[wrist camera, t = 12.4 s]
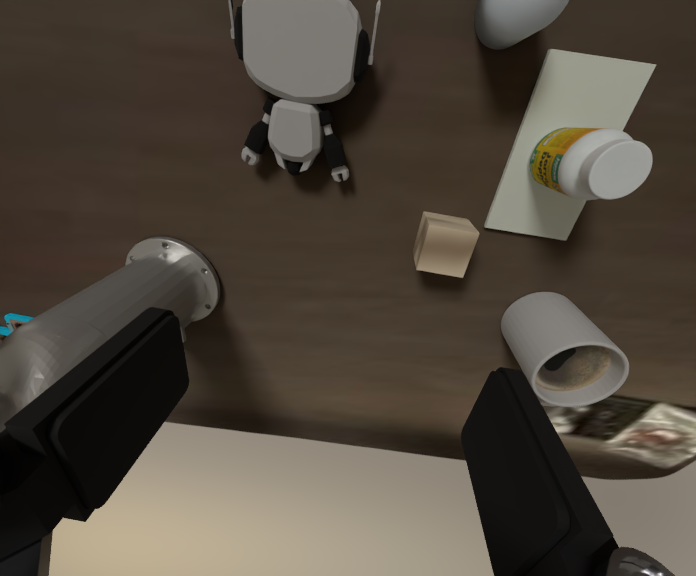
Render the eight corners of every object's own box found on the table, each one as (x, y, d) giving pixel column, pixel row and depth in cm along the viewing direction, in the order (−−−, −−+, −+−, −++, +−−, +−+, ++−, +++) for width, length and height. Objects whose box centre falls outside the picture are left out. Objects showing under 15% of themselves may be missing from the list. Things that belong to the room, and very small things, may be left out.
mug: (546, 277, 37) (596, 326, 28) (592, 322, 39) (652, 380, 30) (473, 331, 42) (497, 387, 33) (519, 368, 44) (552, 430, 35)
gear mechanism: (105, 369, 54) (92, 327, 49) (78, 393, 49) (61, 349, 44) (-7, 347, 54) (-31, 302, 49) (-45, 369, 49) (-75, 322, 44)
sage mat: (563, 239, 35) (566, 240, 34) (483, 226, 35) (485, 227, 34) (651, 65, 27) (656, 64, 26) (548, 50, 27) (550, 48, 26)
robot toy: (354, 179, 35) (384, 1, 26) (350, 190, 31) (383, -13, 23) (247, 158, 35) (243, -25, 26) (230, 167, 31) (219, -44, 23)
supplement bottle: (591, 168, 30) (670, 187, 22) (534, 195, 32) (586, 222, 24) (579, 114, 28) (660, 112, 20) (519, 146, 30) (571, 156, 22)
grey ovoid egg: (522, 53, 27) (555, 38, 22) (466, 45, 27) (485, 27, 22) (548, -23, 25) (592, -61, 20) (486, -32, 25) (513, -72, 20)
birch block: (453, 259, 37) (462, 277, 33) (412, 251, 37) (416, 269, 33) (467, 218, 35) (479, 233, 30) (423, 211, 35) (429, 224, 30)
